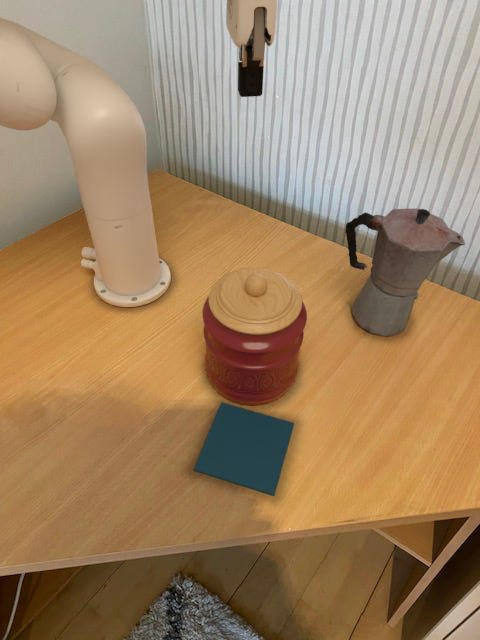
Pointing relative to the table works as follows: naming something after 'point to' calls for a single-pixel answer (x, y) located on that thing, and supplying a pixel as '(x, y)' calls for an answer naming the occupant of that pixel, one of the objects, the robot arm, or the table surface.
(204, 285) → the table surface
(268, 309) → the kitchen canister
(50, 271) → the table surface
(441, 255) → the moka pot
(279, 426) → the cloth
